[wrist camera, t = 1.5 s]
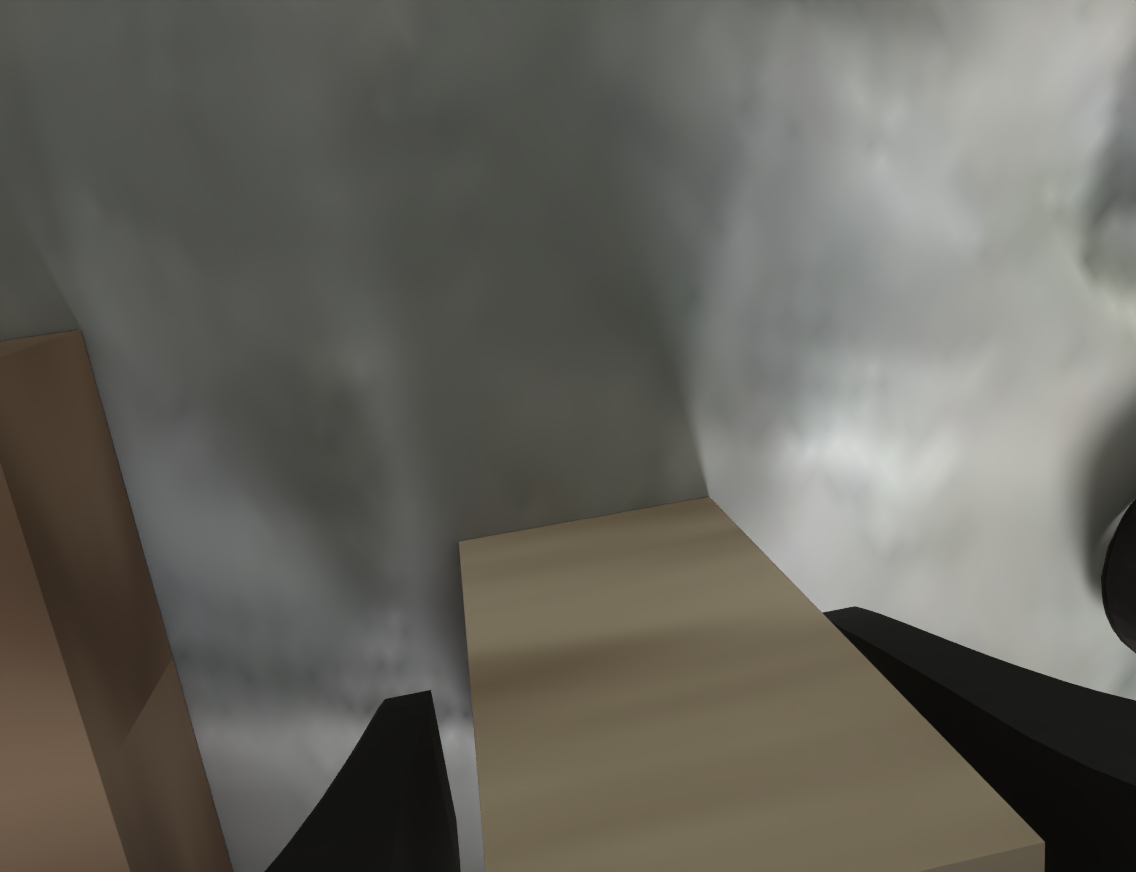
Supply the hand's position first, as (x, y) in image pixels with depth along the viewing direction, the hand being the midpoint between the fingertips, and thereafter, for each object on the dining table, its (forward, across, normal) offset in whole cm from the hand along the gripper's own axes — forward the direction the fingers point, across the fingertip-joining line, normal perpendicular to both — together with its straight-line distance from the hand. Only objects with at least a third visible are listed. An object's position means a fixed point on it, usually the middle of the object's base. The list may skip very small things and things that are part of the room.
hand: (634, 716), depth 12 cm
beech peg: (+2, 0, 0) cm, 2 cm away
